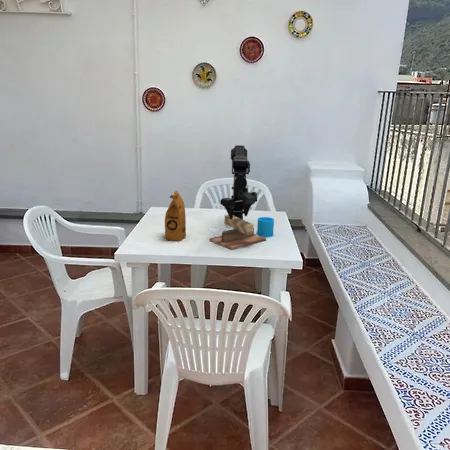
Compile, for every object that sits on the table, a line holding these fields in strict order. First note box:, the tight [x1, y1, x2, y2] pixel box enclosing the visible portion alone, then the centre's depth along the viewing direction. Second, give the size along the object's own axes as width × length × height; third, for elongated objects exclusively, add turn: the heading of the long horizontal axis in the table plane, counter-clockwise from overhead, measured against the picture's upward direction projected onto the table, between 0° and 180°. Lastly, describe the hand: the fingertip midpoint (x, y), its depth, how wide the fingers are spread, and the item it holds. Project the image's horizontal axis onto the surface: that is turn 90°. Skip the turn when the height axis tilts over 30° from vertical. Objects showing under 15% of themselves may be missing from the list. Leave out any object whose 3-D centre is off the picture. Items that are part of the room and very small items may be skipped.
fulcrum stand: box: [209, 227, 267, 251], centre depth 211 cm, size 16×22×6 cm
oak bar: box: [224, 214, 255, 235], centre depth 209 cm, size 20×4×4 cm, turn 31°
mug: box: [256, 216, 275, 238], centre depth 222 cm, size 12×8×8 cm
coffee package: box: [164, 190, 187, 242], centre depth 211 cm, size 10×12×22 cm
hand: (238, 217), depth 208 cm, fingers open, 9 cm apart
